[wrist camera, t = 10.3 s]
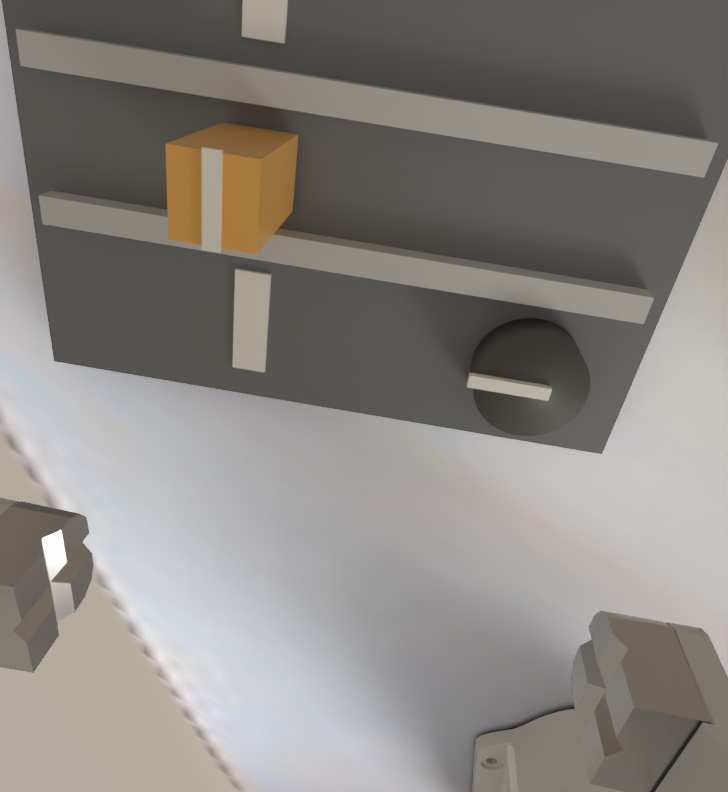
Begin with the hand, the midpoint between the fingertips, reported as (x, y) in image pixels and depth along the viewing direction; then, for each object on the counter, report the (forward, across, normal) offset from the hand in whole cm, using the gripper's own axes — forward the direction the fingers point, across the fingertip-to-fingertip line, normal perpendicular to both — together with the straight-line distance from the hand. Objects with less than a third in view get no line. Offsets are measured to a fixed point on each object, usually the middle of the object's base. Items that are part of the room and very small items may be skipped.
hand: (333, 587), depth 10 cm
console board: (+21, +3, -3) cm, 21 cm away
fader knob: (+18, +6, -3) cm, 20 cm away
